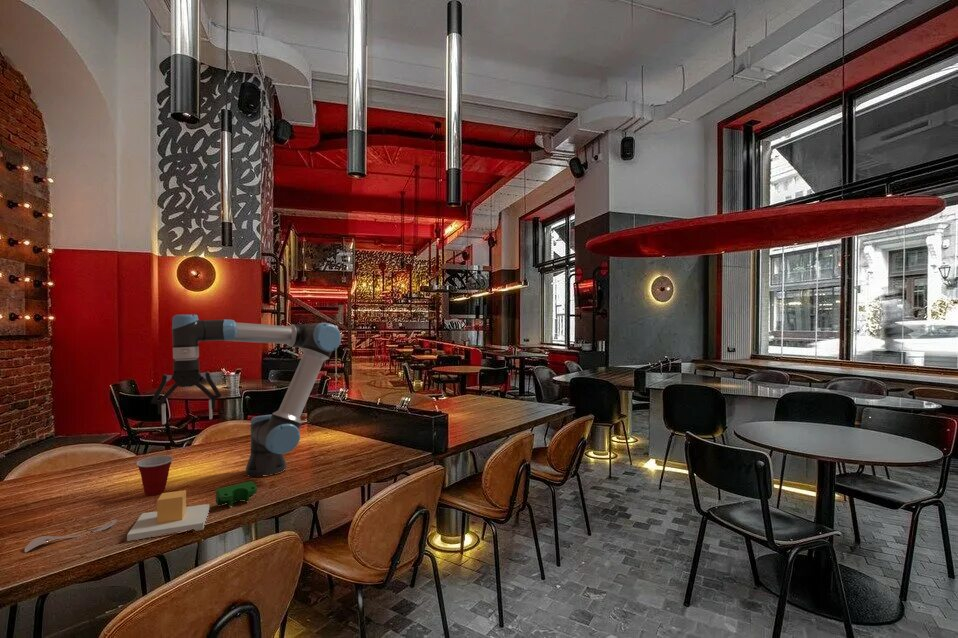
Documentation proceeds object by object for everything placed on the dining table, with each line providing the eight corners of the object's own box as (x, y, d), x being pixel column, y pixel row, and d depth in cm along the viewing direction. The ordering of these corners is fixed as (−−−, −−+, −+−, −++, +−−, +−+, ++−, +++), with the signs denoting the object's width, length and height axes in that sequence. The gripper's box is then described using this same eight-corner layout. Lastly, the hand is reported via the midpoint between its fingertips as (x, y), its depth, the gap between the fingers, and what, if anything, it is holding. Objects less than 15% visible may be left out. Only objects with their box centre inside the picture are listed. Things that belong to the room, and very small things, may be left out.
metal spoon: (114, 511, 137) (119, 514, 134) (115, 522, 137) (120, 526, 134) (21, 540, 121) (24, 545, 118) (22, 553, 121) (25, 558, 118)
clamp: (226, 521, 148) (216, 501, 144) (220, 512, 152) (210, 492, 148) (262, 499, 155) (254, 479, 152) (256, 490, 159) (248, 471, 156)
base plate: (210, 509, 147) (210, 486, 147) (203, 529, 132) (203, 503, 132) (142, 519, 139) (142, 494, 139) (127, 542, 125) (127, 514, 125)
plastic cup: (132, 500, 155) (133, 465, 155) (139, 490, 164) (139, 457, 164) (170, 495, 160) (171, 461, 160) (174, 485, 169) (175, 453, 169)
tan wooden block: (185, 512, 140) (186, 490, 140) (182, 520, 134) (182, 496, 134) (161, 515, 137) (162, 493, 137) (157, 523, 131) (157, 500, 132)
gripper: (139, 362, 147) (141, 428, 147) (227, 357, 158) (229, 418, 158) (143, 361, 153) (145, 423, 153) (228, 356, 165) (229, 414, 165)
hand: (187, 421), depth 156 cm, fingers open, 13 cm apart
